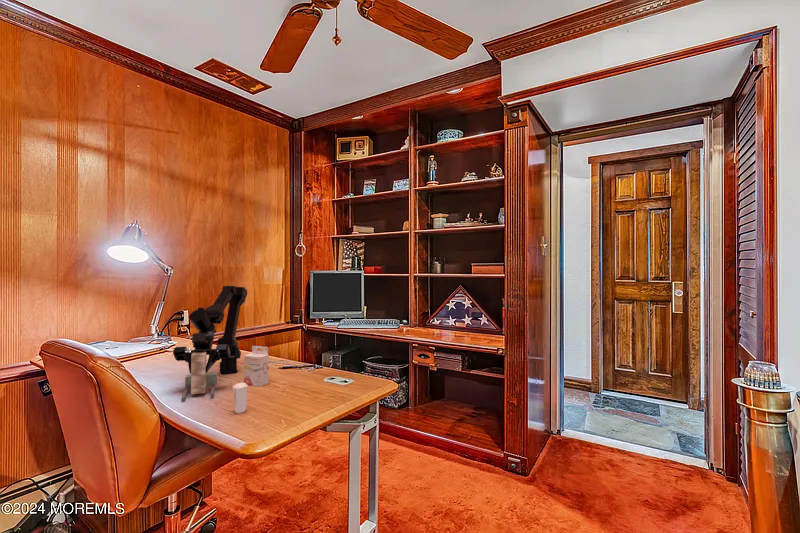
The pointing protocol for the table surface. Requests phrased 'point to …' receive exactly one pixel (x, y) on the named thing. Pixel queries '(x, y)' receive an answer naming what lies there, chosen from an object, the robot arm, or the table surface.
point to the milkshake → (240, 397)
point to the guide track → (210, 380)
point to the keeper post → (198, 372)
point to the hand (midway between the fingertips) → (198, 372)
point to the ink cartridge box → (256, 367)
